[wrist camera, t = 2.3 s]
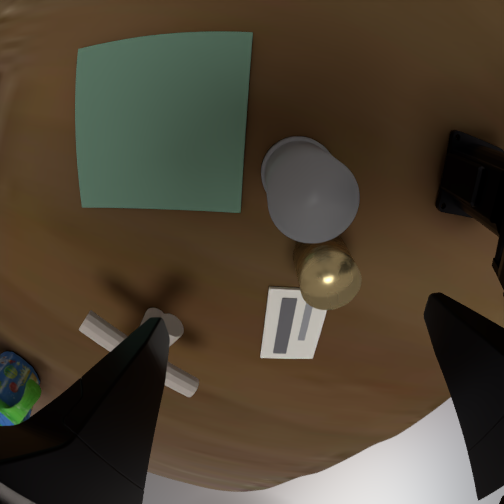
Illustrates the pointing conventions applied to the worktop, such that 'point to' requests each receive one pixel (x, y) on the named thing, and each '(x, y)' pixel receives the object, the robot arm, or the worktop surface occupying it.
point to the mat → (163, 121)
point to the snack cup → (16, 389)
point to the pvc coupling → (308, 190)
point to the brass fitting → (326, 273)
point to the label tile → (290, 325)
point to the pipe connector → (113, 337)
